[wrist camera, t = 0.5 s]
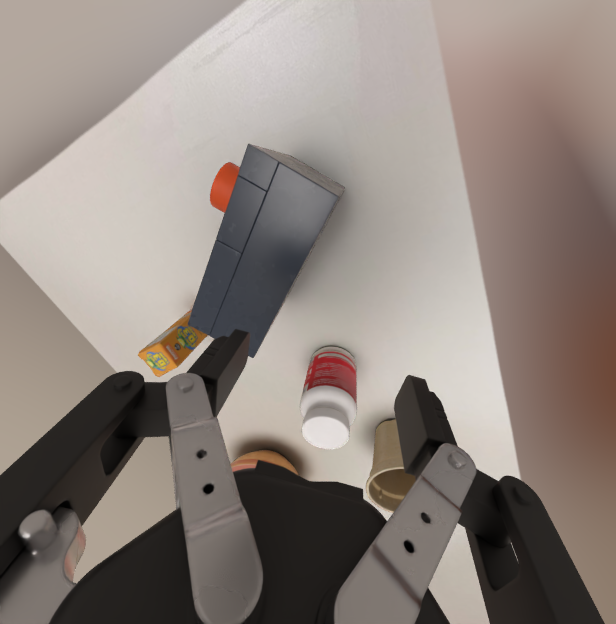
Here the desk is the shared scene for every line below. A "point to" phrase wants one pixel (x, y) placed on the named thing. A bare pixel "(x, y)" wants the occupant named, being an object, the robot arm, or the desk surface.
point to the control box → (262, 244)
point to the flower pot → (388, 469)
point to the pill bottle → (329, 398)
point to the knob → (223, 186)
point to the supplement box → (172, 346)
